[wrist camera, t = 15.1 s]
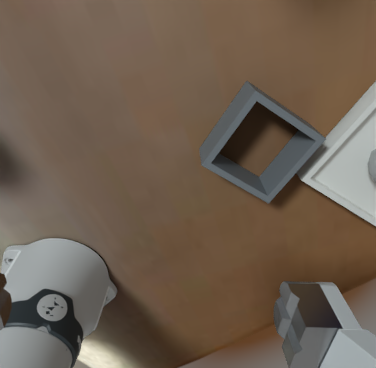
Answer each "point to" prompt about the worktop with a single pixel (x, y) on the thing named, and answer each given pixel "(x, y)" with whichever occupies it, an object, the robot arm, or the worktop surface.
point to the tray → (347, 160)
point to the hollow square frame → (283, 163)
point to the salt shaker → (372, 165)
